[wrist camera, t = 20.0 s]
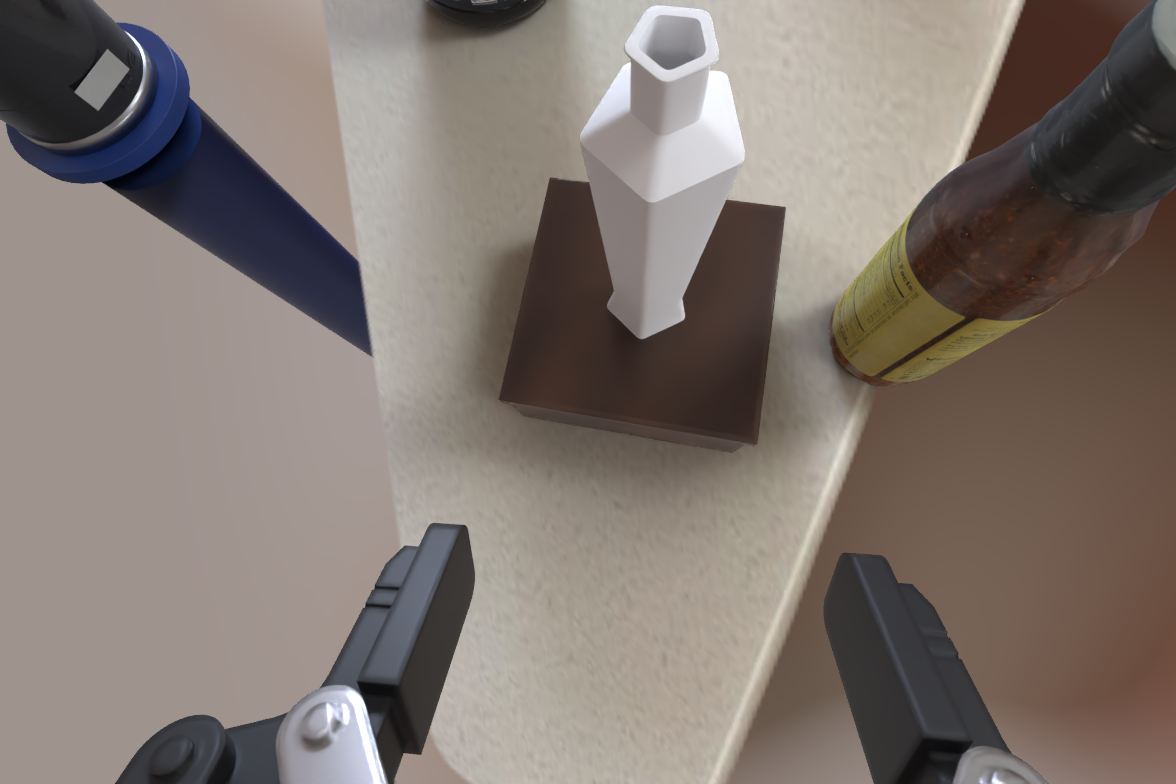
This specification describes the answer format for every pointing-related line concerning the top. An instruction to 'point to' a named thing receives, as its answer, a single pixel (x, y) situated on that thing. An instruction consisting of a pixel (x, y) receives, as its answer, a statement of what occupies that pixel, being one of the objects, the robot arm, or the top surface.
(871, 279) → the sauce bottle
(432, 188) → the top surface
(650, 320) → the white faceted vase
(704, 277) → the box
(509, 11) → the supplement container
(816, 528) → the top surface
